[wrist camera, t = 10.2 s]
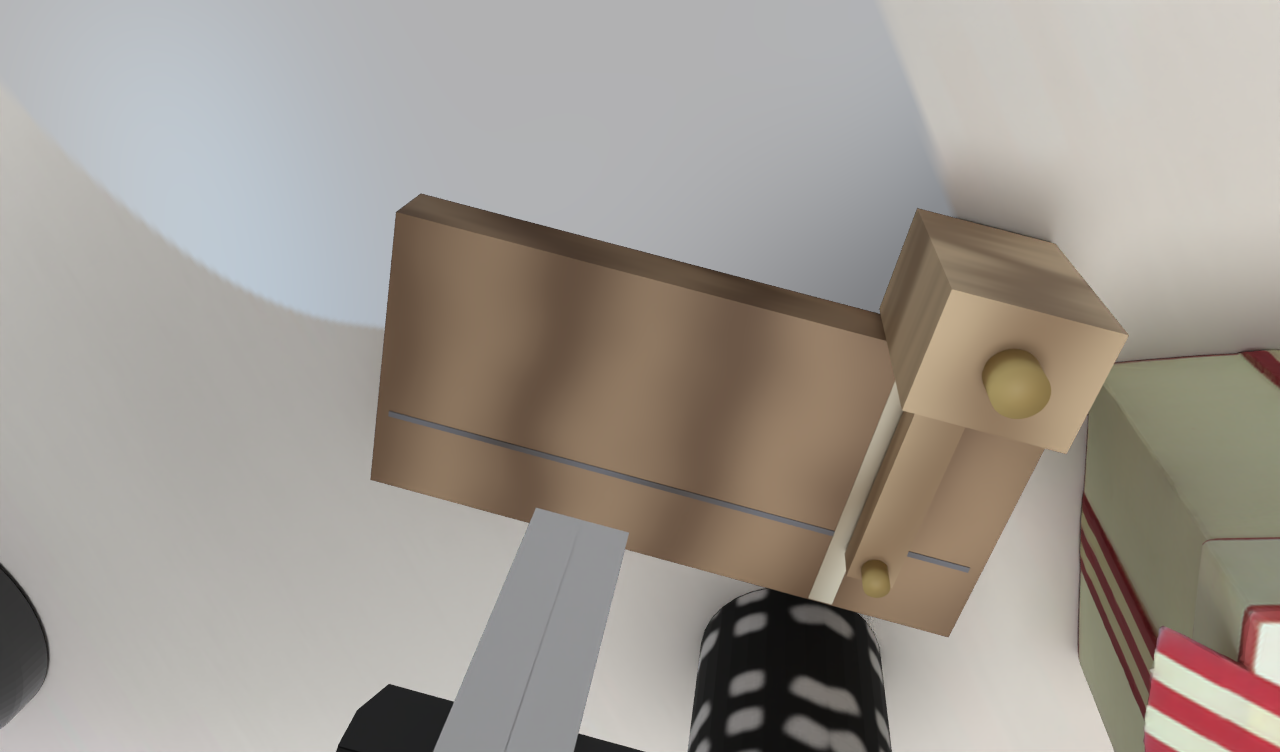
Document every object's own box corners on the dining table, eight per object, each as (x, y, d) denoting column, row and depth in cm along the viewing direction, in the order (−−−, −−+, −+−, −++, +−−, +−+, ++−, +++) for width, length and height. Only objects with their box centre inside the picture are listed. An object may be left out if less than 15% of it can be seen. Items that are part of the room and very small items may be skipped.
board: (393, 449, 41) (369, 480, 39) (420, 193, 35) (395, 212, 33) (939, 597, 40) (948, 638, 38) (1056, 360, 35) (1074, 391, 32)
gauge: (804, 507, 39) (808, 664, 31) (917, 208, 33) (958, 305, 24) (920, 538, 39) (954, 704, 30) (1055, 243, 32) (1143, 353, 24)
